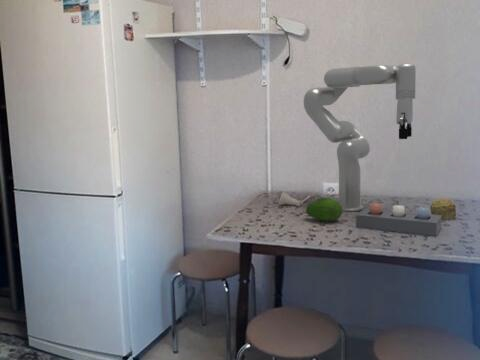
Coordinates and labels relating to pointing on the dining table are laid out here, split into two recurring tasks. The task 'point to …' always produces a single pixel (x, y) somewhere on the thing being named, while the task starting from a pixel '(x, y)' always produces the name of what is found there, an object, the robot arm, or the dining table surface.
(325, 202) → the fruit
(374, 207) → the brown egg
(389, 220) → the grey rectangular block
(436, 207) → the rock
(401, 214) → the white rounded oval piece
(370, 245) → the dining table surface
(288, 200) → the toilet paper hanger
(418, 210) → the light blue rounded cylinder
